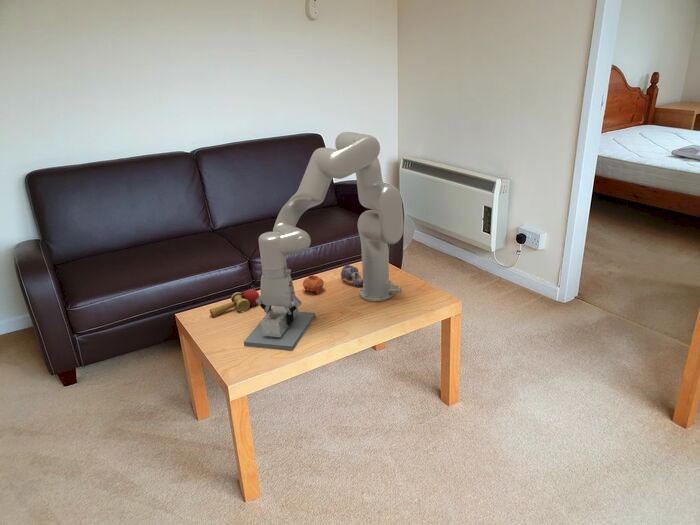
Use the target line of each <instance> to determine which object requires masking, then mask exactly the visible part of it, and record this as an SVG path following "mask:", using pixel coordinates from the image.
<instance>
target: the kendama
mask: <svg viewBox="0 0 700 525" xmlns="http://www.w3.org/2000/svg"><path fill="white" fill-rule="evenodd" d="M259 296H260V294H259V292H258V291H257V290H255V289H252V288H251V289H247V290H245V291H244V292H243V293H241V292H239V291H238V292H237V291H236V292H234V293H232V295H231V297H230V299H231V300H230V301H231V302H228V303H225V304H223V305H219V306H216V307H213V308H211V309H209V313H210V315H211V317H212V318H216V316H219V315H221V314H223V313H224V312H226V311H229V310H231V309H233V308H234V307H236V308H235V309H237V311H239V312H240V313H243V312H246V311H248V310H249V309H250V307H252V306H253V307H254V306H256V305H257V303H256V299H257V298H258V297H259Z"/></svg>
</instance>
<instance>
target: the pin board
mask: <svg viewBox="0 0 700 525" xmlns="http://www.w3.org/2000/svg"><path fill="white" fill-rule="evenodd" d="M315 318H316V313H315V312H311V311H310V312H309V311H302V310H301V311H300V310H298V314H297V315H296V317H295V318H294V321H293V322H292V323H291V325H290V326H288V328H287V329H286V330H285V332H284V333H283V334H282V336H281V337H272V336H262V328H261V321H260V322H258V324H257V326H255V328H254V329H253V330H251V332H250V333H249V335H248V336H246V339H245V340H244V341H243V345H244V347H250V348H251V347H252V348H263V349H271V350H283V351H291V352H292V351H294V349H295V348H296V346H297V345H298V344H299V342H300V340H301V339H302V337H303V336H304V335H305V333H306V331H307V330H308V329H309V327H310V325H311V324H312V322H313V320H315Z"/></svg>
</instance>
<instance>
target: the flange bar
mask: <svg viewBox="0 0 700 525" xmlns="http://www.w3.org/2000/svg"><path fill="white" fill-rule="evenodd" d="M291 304H292V306H294V305H295V303H294V302H293V301H292V302H291ZM298 308H299V307H298ZM298 308H297V309H296V310H295V311H294V312H293V317H294V318H295V317H296V315H297V314H298V311H299V309H298ZM287 314H288V313H287V311H286V309H285V307H281V306H272V307H271V310H270V311H269V312H268V313H267V314H266V315H265V316H264V317H263V318H262V319H260V320H261V321H260V322H261V328H262V336H272V337H281V336H282V334H283V333H284V332H285V330H286V329H287V328H288V323H287Z"/></svg>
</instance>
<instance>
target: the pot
mask: <svg viewBox="0 0 700 525" xmlns="http://www.w3.org/2000/svg"><path fill="white" fill-rule="evenodd" d="M324 284H325V282H324V280H323V279H322V278H321V277H319V276H317V275H313V274H312V275H308V277H306V278H304V280H303V282H302V286H303V289H304V291H305V292H308V291H310V292H315V293H316V294H317V295H318V294H319V293H320V289H322V288H323V287H324Z"/></svg>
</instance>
